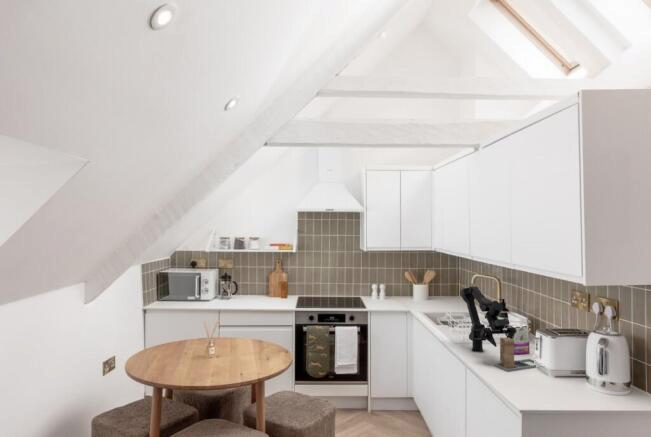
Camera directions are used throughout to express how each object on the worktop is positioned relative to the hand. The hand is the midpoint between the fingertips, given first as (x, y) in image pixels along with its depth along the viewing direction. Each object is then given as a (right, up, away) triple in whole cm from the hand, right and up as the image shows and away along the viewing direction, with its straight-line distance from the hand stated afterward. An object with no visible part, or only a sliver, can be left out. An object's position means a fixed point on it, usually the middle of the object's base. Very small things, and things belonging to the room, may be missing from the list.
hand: (504, 346), depth 225 cm
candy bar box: (+19, -12, +24) cm, 32 cm away
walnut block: (0, -10, -3) cm, 11 cm away
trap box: (+8, -11, 0) cm, 13 cm away
